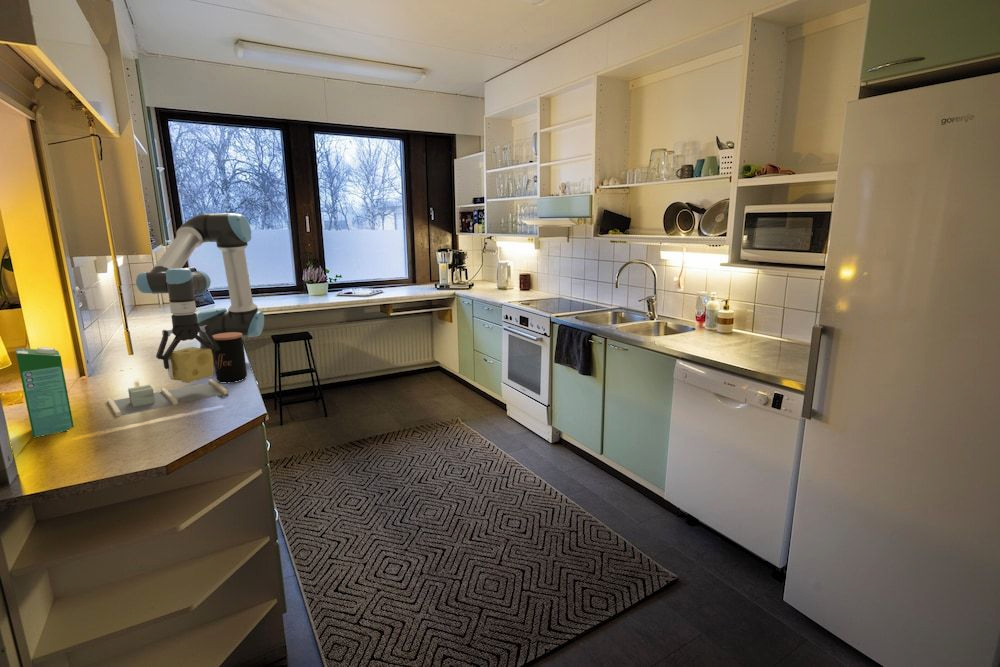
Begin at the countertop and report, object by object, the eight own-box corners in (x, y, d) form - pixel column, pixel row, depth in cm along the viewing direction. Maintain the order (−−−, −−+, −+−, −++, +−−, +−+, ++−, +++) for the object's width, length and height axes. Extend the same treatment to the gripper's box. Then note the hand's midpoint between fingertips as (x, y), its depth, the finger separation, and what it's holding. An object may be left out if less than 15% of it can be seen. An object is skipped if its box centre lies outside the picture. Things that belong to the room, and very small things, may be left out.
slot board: (108, 404, 172) (107, 398, 171) (212, 384, 193) (211, 378, 193) (117, 419, 158) (116, 412, 158) (228, 396, 180) (227, 390, 179)
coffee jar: (210, 381, 197) (205, 336, 194) (235, 374, 206) (230, 331, 203) (228, 385, 192) (222, 338, 189) (253, 377, 202) (248, 333, 198)
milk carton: (74, 429, 150) (59, 347, 145) (33, 438, 144) (15, 353, 139) (71, 421, 156) (56, 342, 151) (31, 429, 150) (15, 347, 145)
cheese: (187, 383, 173) (183, 355, 171) (167, 379, 177) (163, 351, 175) (215, 375, 182) (212, 348, 180) (196, 372, 186) (193, 345, 184)
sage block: (130, 402, 170) (127, 388, 169) (151, 398, 174) (149, 384, 173) (133, 407, 166) (131, 392, 165) (155, 402, 170) (152, 388, 169)
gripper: (144, 319, 164) (153, 383, 168) (225, 310, 180) (231, 369, 185) (139, 316, 169) (149, 378, 174) (218, 308, 186) (225, 365, 190)
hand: (191, 373), depth 179 cm, fingers closed on cheese, 12 cm apart
